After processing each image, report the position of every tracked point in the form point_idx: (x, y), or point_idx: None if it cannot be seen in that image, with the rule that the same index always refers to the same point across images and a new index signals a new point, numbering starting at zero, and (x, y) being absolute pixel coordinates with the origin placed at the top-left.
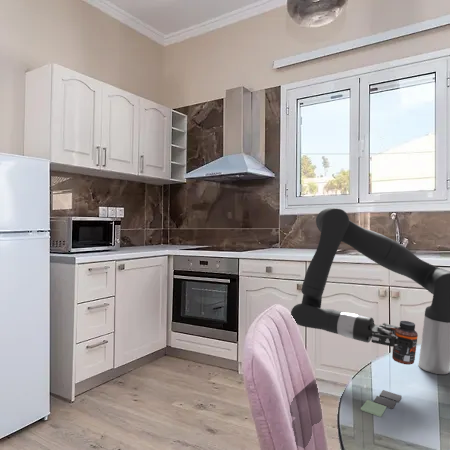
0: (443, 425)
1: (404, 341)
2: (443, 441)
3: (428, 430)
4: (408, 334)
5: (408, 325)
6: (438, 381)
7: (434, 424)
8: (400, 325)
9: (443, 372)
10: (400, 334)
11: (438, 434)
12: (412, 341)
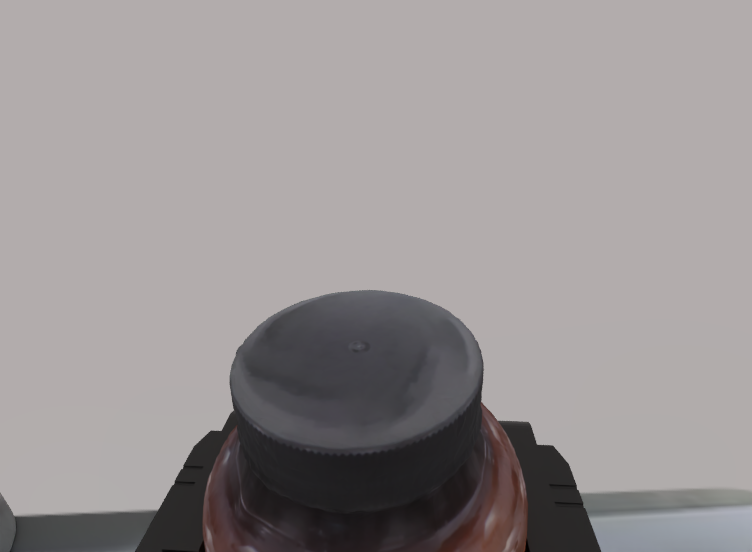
0: (607, 498)
1: (584, 510)
2: (741, 493)
3: (730, 549)
4: (499, 424)
5: (473, 338)
6: (117, 542)
7: (641, 530)
8: (430, 477)
9: (12, 516)
10: (522, 542)
11: (710, 511)
12: (529, 425)
